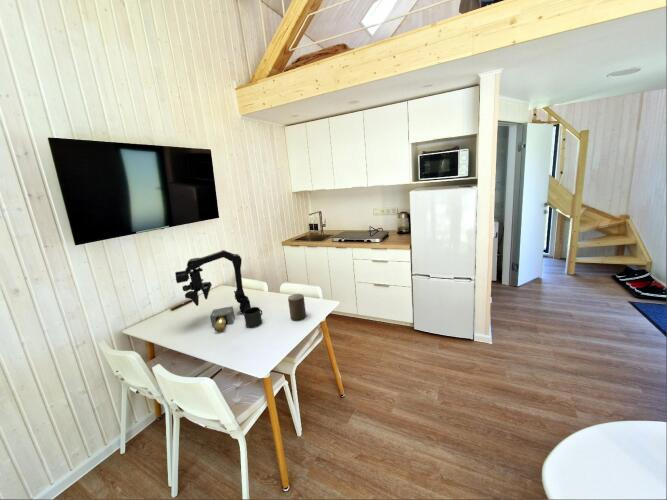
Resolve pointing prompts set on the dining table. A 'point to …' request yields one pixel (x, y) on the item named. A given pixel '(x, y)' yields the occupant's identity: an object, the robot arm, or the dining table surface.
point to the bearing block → (222, 312)
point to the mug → (253, 317)
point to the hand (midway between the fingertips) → (201, 302)
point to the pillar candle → (297, 307)
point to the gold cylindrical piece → (220, 324)
